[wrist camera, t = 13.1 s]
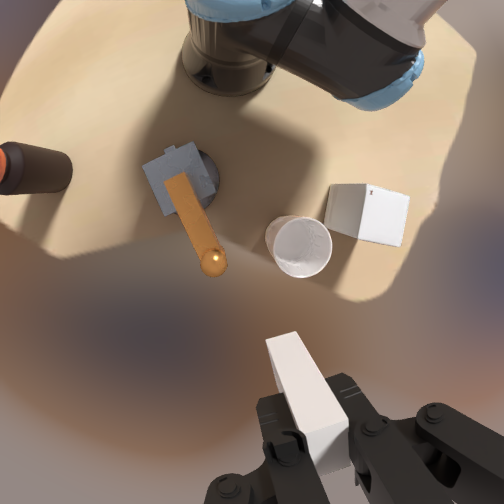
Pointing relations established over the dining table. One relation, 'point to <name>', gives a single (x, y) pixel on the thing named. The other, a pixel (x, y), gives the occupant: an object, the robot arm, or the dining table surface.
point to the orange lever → (187, 200)
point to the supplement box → (367, 213)
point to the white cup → (299, 245)
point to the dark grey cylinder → (213, 176)
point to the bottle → (32, 169)
